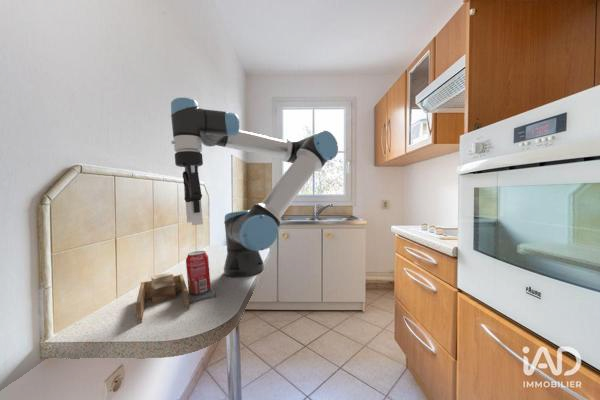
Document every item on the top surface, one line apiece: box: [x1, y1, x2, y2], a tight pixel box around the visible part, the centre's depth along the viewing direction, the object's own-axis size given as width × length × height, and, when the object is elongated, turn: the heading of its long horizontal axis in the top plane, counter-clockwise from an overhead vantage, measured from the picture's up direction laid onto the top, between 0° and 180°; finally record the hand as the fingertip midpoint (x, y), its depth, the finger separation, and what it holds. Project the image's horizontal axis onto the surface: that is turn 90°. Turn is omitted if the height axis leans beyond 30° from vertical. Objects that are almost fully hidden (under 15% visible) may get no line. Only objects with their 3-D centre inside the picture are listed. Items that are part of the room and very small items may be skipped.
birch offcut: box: [150, 272, 174, 289], centre depth 73 cm, size 5×3×3 cm
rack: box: [136, 273, 190, 324], centre depth 68 cm, size 11×18×5 cm, turn 30°
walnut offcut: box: [151, 284, 177, 304], centre depth 73 cm, size 6×4×4 cm, turn 120°
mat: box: [188, 287, 216, 304], centre depth 73 cm, size 7×9×1 cm
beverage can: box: [185, 250, 212, 295], centre depth 74 cm, size 6×6×12 cm
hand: (194, 223), depth 73 cm, fingers open, 13 cm apart
